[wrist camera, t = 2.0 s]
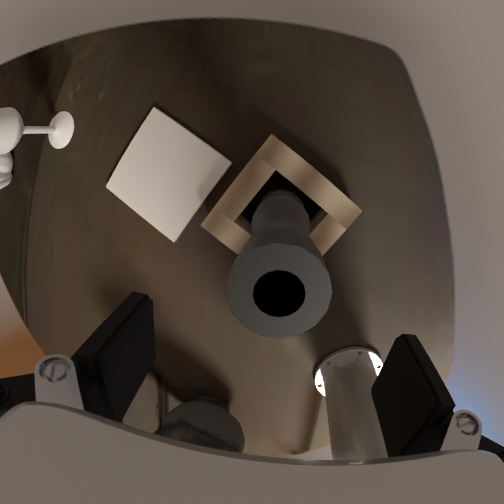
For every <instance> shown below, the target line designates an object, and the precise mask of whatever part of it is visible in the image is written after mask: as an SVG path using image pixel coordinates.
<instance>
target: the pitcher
mask: <svg viewBox="0 0 504 504" xmlns="http://www.w3.org/2000/svg"><path fill="white" fill-rule="evenodd" d="M156 411H157V414H156V415H157V417H158V426H157V429H156V431H155V432H154V433H153V434H156V435H157V434H158V435H160V436H163V437H167V438H171V439H174V440H178V441H182V442H186V443H190V444H195V445H199V446H204V447H209V448H214V449H219V450H224V451H230V452H236V453H243V450H244V446H245V439H244V434H243V431H242V428H241V425H240V423H239V422H238V421H237V419H236V418H235V417H233V416H232V415H231V414H230V413H229V408H228V406H227V405H226V404H225V403H224V402H223V401H221V400H220V399H217V398H215V397H212V396H207V395H201V396H197V397H196V398H194V399H193V401H189V402H186V403H183V404H180V405H178V406H177V407H175V408H174V409H173V410H171V411H170V412H169V413H168V414H167V415H166V417H165V418H164V420H163V422H162V423H161V418H160V411H159V407H158V405H156Z"/></svg>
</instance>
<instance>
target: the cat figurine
mask: <svg viewBox="0 0 504 504" xmlns="http://www.w3.org/2000/svg"><path fill="white" fill-rule="evenodd" d="M12 167H13V158H12V155H11V153H10V152H8V153H6V154H0V189H1V188H3V187H5V186H7V185H8V184H9V183H10V182H11V180H12V174H11V171H12Z"/></svg>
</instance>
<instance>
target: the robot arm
mask: <svg viewBox="0 0 504 504" xmlns="http://www.w3.org/2000/svg"><path fill="white" fill-rule="evenodd" d="M154 360H155V339H154V319H153V301H152V299H149V296H148V295H147V294H143V293H138V292H132V293H131V294H130V295H129V296H128V297H127V298H126V299H125V300H124V301H123V302H122V303H121V304H120V305H119V307H118V308H117V309H116V310H115V311H114V312H113V313H112V314H111V315H110V316H109V317H108V318H107V319H106V320H105V321H104V322H103V323H102V324H101V325H100V326H99V327H98V328H97V329H96V330H95V331H94V332H93V334H92V335H91V336H90V337H89V338H88V339H87V340H86V341H85V342H84V343H83V345H82V346H81V347H80V348H79V349H78V350H77V351H76V352H75V354H74V355H73V356H72V357H71V358H68V357H67V356H65V355H60V354H52V355H48V356H46V357H44V358H42V359H41V360H40V361H39V362H38V363H37V365H36V366H35V373H33V374H27V375H21V376H14V377H8V378H1V379H0V504H504V447H503V446H501V445H499V444H497V443H495V442H494V441H492V440H490V439H488V438H486V437H484V436H483V435H481V433H482V424H481V421H480V420H479V418H478V417H477V416H476V415H475V414H473V413H472V412H470V411H467V410H459V411H457V412H455V413H454V412H453V409H454V407H455V406H456V405H455V403H454V401H453V399H452V397H451V395H450V393H449V392H448V390H447V388H446V386H445V384H444V382H443V381H442V379H441V377H440V375H439V373H438V372H437V370H436V368H435V366H434V365H433V363H432V361H431V360H430V358H429V356H428V354H427V353H426V351H425V349H424V348H423V346H422V344H421V343H420V341H419V340H418V338H417V336H416V335H412V334H401V335H400V336H399V337H397V338H396V339H395V341H394V343H393V345H392V348H391V350H390V352H389V354H388V356H387V358H386V360H385V362H384V364H382V361H381V358H380V357H379V355H378V354H377V353H376V352H375V351H373V350H371V349H369V348H366V347H358V346H355V347H347V348H343V349H340V350H338V351H335V352H333V353H332V354H330V355H328V356H327V357H326V358H325V359H323V361H322V362H321V363H320V364H319V365H318V367H317V369H316V371H315V376H314V380H315V386H316V388H317V390H318V391H319V392H320V393H321V394H322V395H324V396H325V398H326V406H327V414H328V423H329V432H330V441H331V449H332V456H333V459H334V460H302V459H288V458H276V457H266V456H258V455H250V454H243V453H236V452H230V451H224V450H219V449H214V448H209V447H204V446H199V445H195V444H190V443H186V442H182V441H178V440H174V439H171V438H167V437H163V436H160V435H156V434H153V433H150V432H146V431H143V430H140V429H137V428H134V427H130V426H127V425H125V424H122V423H120V422H121V421H122V419H123V417H124V415H125V413H126V412H127V410H128V408H129V406H130V404H131V402H132V401H133V399H134V397H135V395H136V393H137V391H138V390H139V388H140V386H141V384H142V382H143V381H144V379H145V377H146V375H147V374H148V372H149V370H150V368H151V366H152V365H153V363H154Z"/></svg>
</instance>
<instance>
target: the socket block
mask: <svg viewBox="0 0 504 504" xmlns="http://www.w3.org/2000/svg"><path fill="white" fill-rule="evenodd" d="M275 170H277V171H278V172H279V173H280V174H282V175H283V176H284V177H285V178H287V179H288V180H289V181H290V182H292V183H293V184H294V185H295V186H296V187H298V188H299V189H300V190H301V191H302V192H304V193H305V194H306V195H307V196H308V197H310V198H311V199H312V200H313V201H314V202H316V203H317V204H318V205H319V206H320V207H321V209H320V210H319V211H318V212H317V214H316V215H315V216H314V217H313V218H312V219H311V221H310V225H311V226H310V232H309V236H310V237H311V239H312V240H313V242H314V244H315V245H316V247H317V248H318V250H319V251H320V253H321V254H322V256H323V255H324V254H325V253H326V252H327V250H328V249H329V248H330V247H331V246H332V245H333V244H334V243H335V242H336V240H337V239H338V238H339V237H340V236H341V235H342V234H343V233H344V231H345V230H346V229H347V228H348V227H349V226H350V225H351V223H352V222H353V221H354V220H355V219H356V218H357V217H358V215H359V214H360V213H361V212H362V210H361V209H360V208H358V207H357V206H356V205H355V204H354V203H353V202H352V201H351V200H350V199H349V198H348V197H347V196H345V195H344V194H343V193H342V192H341V191H340V190H339V189H338V188H337V187H335V186H334V185H333V184H332V183H331V182H330V181H329V180H327V179H326V178H325V177H324V176H323V175H322V174H320V173H319V172H318V171H317V170H316V169H315V168H313V167H312V166H311V165H310V164H309V163H307V162H306V161H305V160H304V159H303V158H301V157H300V156H299V155H298V154H296V153H295V152H294V151H293V150H291V149H290V148H289V147H288V146H286V145H285V144H284V143H283V142H281V141H280V140H279V139H277V138H276V137H275V136H274V135H272V134H271V135H270V136H269V138H268V139H267V140H266V141H265V143H264V144H263V145H262V146H261V147H260V149H259V150H258V151H257V152H256V154H255V155H254V156H253V157H252V159H251V160H250V161H249V162H248V164H247V165H246V166H245V167H244V169H243V170H242V171H241V173H240V174H239V175H238V176H237V178H236V179H235V180H234V182H233V183H232V184H231V185H230V187H229V188H228V189H227V191H226V192H225V193H224V195H223V196H222V197H221V199H220V200H219V201H218V203H217V204H216V205H215V207H214V208H213V209H212V211H211V212H210V213H209V215H208V216H207V217H206V219H205V220H204V221H203V223H202V224H201V225H200V226H201V227H203V228H204V229H205V230H207V231H208V232H209V233H210V234H212V235H213V236H214V237H216V238H217V239H218V240H219V241H221V242H222V243H223V244H225V245H226V246H227V247H228V248H230V249H231V250H232V251H234V252H235V253H236V254H239V253H240V251H241V249H242V248H243V246H244V244H245V243H246V242H247V241H248V240H249V238H250V237H251V235H252V229H251V225H252V223H251V222H249V221H248V220H247V219H245V218H244V217H243V216H242V215H240V214H241V212H242V211H243V210H244V209H245V207H246V206H247V205H248V204H249V202H250V201H251V200H252V199H253V197H254V196H255V195H256V194H257V192H258V191H259V190H260V189H261V187H262V186H263V185H264V184H265V183H266V181H267V180H268V179H269V178H270V176H271V175H272V174H273V173H274V171H275Z"/></svg>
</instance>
